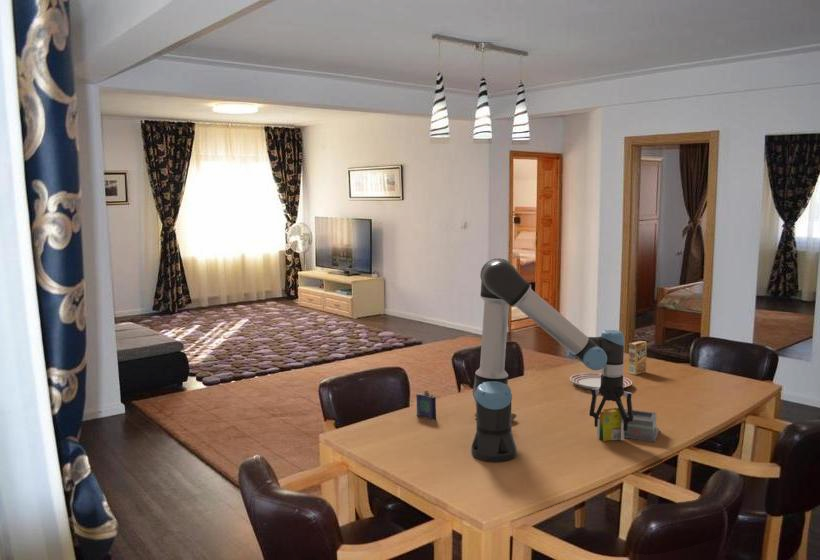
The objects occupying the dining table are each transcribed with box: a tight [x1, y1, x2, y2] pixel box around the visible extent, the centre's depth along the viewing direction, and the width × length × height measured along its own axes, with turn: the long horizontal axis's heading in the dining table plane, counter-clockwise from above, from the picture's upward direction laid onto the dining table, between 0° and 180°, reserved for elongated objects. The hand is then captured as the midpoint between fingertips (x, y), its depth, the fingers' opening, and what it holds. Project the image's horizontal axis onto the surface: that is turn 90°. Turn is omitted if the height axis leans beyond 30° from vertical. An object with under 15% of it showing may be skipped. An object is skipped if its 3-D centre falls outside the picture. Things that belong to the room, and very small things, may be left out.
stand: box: [622, 408, 660, 443], centre depth 234 cm, size 13×13×7 cm
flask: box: [415, 390, 437, 420], centre depth 256 cm, size 9×3×11 cm, turn 50°
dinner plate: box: [569, 372, 633, 391], centre depth 296 cm, size 27×27×3 cm
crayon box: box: [599, 407, 622, 442], centre depth 228 cm, size 7×3×12 cm, turn 100°
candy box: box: [628, 340, 648, 375], centre depth 316 cm, size 9×4×15 cm, turn 126°
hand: (610, 437), depth 229 cm, fingers closed on crayon box, 7 cm apart
